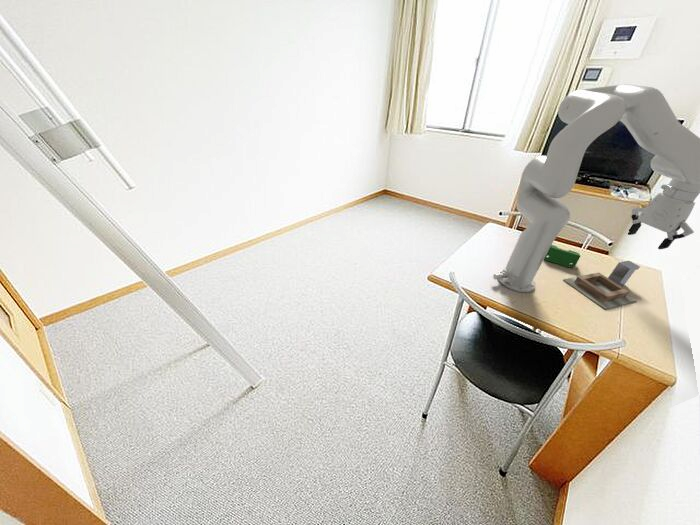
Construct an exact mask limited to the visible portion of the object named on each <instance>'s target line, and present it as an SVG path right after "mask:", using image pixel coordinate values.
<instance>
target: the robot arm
mask: <svg viewBox="0 0 700 525" xmlns="http://www.w3.org/2000/svg"><path fill="white" fill-rule="evenodd" d="M557 114H558V117H559V119H560V120H561V121H562V122H563V123H565V124H566V125H565V126H564V128H563V129H561V130H560V131H559V132H558V133H557V134H556V135H555V136H554V138H553V139H552V141H551V142H550V144H549V147H548V150H547V153H546V155H539V156H537V157H534V158H533V159H531V160H530V161H529V162H528V163H527V164H526V166H525V167H524V169H523V171H522V174H521V177H520V182H519V187H518V192H517V197H516V204H515V205H516V209H517V211H518V212H519V213H520V214H521V216H522V217H524V218H525V219H527V221H528V222H530V225H529V226H528V227H527V228H525V229H524V230H523V231H521V233H520V235H519V236H518V239H517V242H516V243H515V245H514V248H513V250H512V252H511V255H510V256H509V259H508V261H507V264H506V266H505V268H503V269H501V270H499V271H498V272H497V273H495V274H493V277H492V278H493V279H494V280H498V281H499V282H500V284H502V285H503V286H504V287H505V288H508V289H509V290H512V291H515V292H518V293H519V292H520V293H530V292H533V291H534V289H535V288H536V281H535V280H534V279H535V277H536V275H537V273H538V271H539V270H540V268H541V266H542V264H543V262H544V260H545V259H544V258H545V256H546V254H547V252H548V250H549V249H550V247H551V245H553V243H554V241H555V240H556V238H557V236H558V235H559V234H560V232H561V231H562V230H563V229H564V228H565V227H566V226H567V225H568V223H569V220H570V219H571V218H570V217H571V212H570V210H569V208H568V206H566V205H565V203H563V202H562V201H560V200H559V199H561V198H564V197H566V196H567V195H569V193H571V191H572V190H573V189H574V186H575V183H576V180H577V178H578V174H579V171H580V167H581V164H582V161H583V158H584V157H585V156H584V155H585V153H586V151H587V149H588V147H590V145H591V144H592V143H593V142H594V141H595V140H596V139H598V137H599V136H601V135H602V134H604V133H605V132H607V131H608V130H610V129H611V128H612V127H614V126H616V124H617V123H618V122H621V123H622V124H623V125H624V126H625V127H626V128H627V130H628V132H629V133H630V134H631V136H632V137H633V139H634V141H635V142H636V143H637V144H638V146H640V147H641V148H642V149H644V150H646V151H647V152H649V153H651V154H653V155H654V156H653V157H652V158H651V160H650V168H651V170H652V171H653V172H655V173H656V174H659V175H661V176H664V177H666V178H670V181H669V183H668V184H662V185H661V186H660V189H662V192H658V193H656V195H655V196H654V197H653V198H652V199H651V201H650V202H649V203H648V204H647V205H646V206H645V207H634V208H631V216H630V218H631V219H632V221H631V223H632V224H631V226H630V228H629V229H628V232H627V235H628V236H630V235H631V236H633V235H636V234H637V232H638V231H639V229H640V228H641V226H642V223H643V224H645V225H647V226H649V227H652V228H654V229H656V230H658V231H661V232H664V233H666V235H667V238H666V237H665V238H664V239H663V241H662V242H661V243H660V244H659V245H658V247H657V250H664V249H667V248H669V247H670V246H671V244H672V243H673V242H674V241H675V240H677V239H684V238H686V237H687V236H690V235H692V234H694V233H695V230H693V229H692V228H691V227H690V225H689V224H688V222H687V220H688V219H689V216H690V215H691V213H692V211H693V210H694V206H695V204H696V202H695V200H696V199H697V198H698V197H699V195H700V137H699V136H697V135H696V134H695V133H694V132H693V131H691V130H690V129H689V128H687V127H686V126H684V125H683V124H681V122H680V121H679V120H678V118H677V116H676V115H675V113H674V111H673V110H672V108H671V106H670V104H669V102H668V100H667V99H666V98H665V96H664V94H663V93H662V92H661V90H659V89H657V88H655V87H651V86H643V85H637V84H616V85H606V86H599V87H590V88H581V89H577V90H575V91H573V92H570V93H569V94H568V95H566V96H565V97H564V98H563V100H562V101H561V102H560V104H559V107H558V110H557ZM639 213H640V214H639ZM680 229H682V230H683V232H682V233H680V234H679V232H678V231H679V230H680ZM546 257H547V256H546Z"/></svg>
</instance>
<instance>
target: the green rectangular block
mask: <svg viewBox="0 0 700 525" xmlns="http://www.w3.org/2000/svg"><path fill="white" fill-rule="evenodd" d="M580 258H581V254H580V253H579V252H578V251H574V250H571V249H570V250H566V249H562V248H560V247H558V245H554V244H552V245H551V247H550V249H549V250H548V252H547V254H546V256H545V258H544V260H545V261H548V262H551V263H554V264H556V265H560V266H563V267H566V268H570V269H573V268H575V267H576V266H577V263H578V262H579V260H580Z"/></svg>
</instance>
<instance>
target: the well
mask: <svg viewBox="0 0 700 525" xmlns="http://www.w3.org/2000/svg"><path fill="white" fill-rule="evenodd" d="M563 282H565V283H566V284H567V285H569V286H571V287H572V288H573V287H574V288H573V289H574V290H576V289H577V290H578V291H577V290H576V291H577V292H578V293H580V294H582V295H583V296H585V297H586V298H587V299H589V300H590V301H591V302H593V303H594V304H596V305H598V306H599V307H600V308H602V309H604V310H608V309H613V308H615V307H619V306H623V305H628V304H631V303H635V302H637V301H638V299H636V298H634V297H633V296H631V295H630V294H629V293H630V290H628V289H626V288H625V287H624V286H623V285H618V284H617V283H615V282H614V281H612V280H610V279H609V278H608V277H607V276H605V275H604V274H602V273H601V272H596V273H595V272H594V273H593V272H592V273H587V274H582V275H579V276H573V277H568V278H564V279H563Z"/></svg>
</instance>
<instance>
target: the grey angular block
mask: <svg viewBox="0 0 700 525" xmlns="http://www.w3.org/2000/svg"><path fill="white" fill-rule="evenodd" d="M640 268H641V266H640V265H638V264H636V263H634V262H632V261H631V260H626V261H619V262H618V263H617V264H616V266H615V268H614V269H613V270H612V272H611V273H610V274H609V276H608V277H607V278H609V279H610V280H612V281H614V282H615V283H617V284H618V285H620V286H624V285H626V283H627V282H628V280H629V279H630V278H631V277H632V275H633V274H634V273H635V272H636V270H639V269H640Z"/></svg>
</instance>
